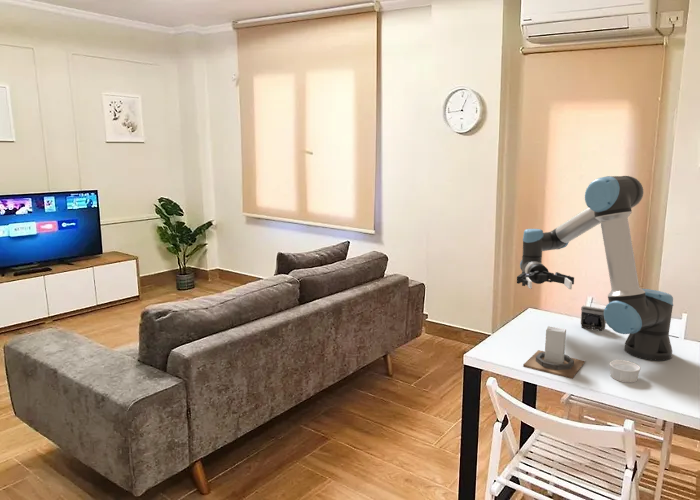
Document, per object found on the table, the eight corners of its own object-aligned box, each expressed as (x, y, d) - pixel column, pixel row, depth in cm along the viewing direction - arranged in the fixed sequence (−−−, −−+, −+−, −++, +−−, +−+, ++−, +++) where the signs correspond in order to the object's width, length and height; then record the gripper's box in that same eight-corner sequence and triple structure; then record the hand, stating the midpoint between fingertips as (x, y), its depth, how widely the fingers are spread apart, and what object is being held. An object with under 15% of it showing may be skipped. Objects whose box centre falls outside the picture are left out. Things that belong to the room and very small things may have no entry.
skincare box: (564, 362, 184) (567, 328, 182) (562, 366, 181) (565, 332, 178) (545, 358, 187) (548, 325, 185) (543, 363, 184) (546, 329, 181)
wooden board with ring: (584, 362, 186) (585, 356, 185) (572, 378, 173) (573, 372, 173) (538, 351, 195) (538, 346, 195) (523, 366, 182) (523, 360, 182)
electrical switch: (605, 329, 219) (607, 307, 216) (603, 333, 215) (605, 312, 212) (580, 324, 224) (582, 304, 221) (578, 329, 220) (579, 308, 217)
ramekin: (625, 385, 168) (626, 372, 168) (602, 374, 176) (603, 362, 176) (645, 380, 172) (646, 368, 171) (621, 370, 180) (622, 358, 179)
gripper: (569, 282, 209) (586, 296, 189) (503, 281, 212) (513, 295, 191) (570, 263, 208) (588, 275, 187) (504, 262, 211) (514, 274, 190)
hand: (550, 285), depth 189 cm, fingers open, 13 cm apart
